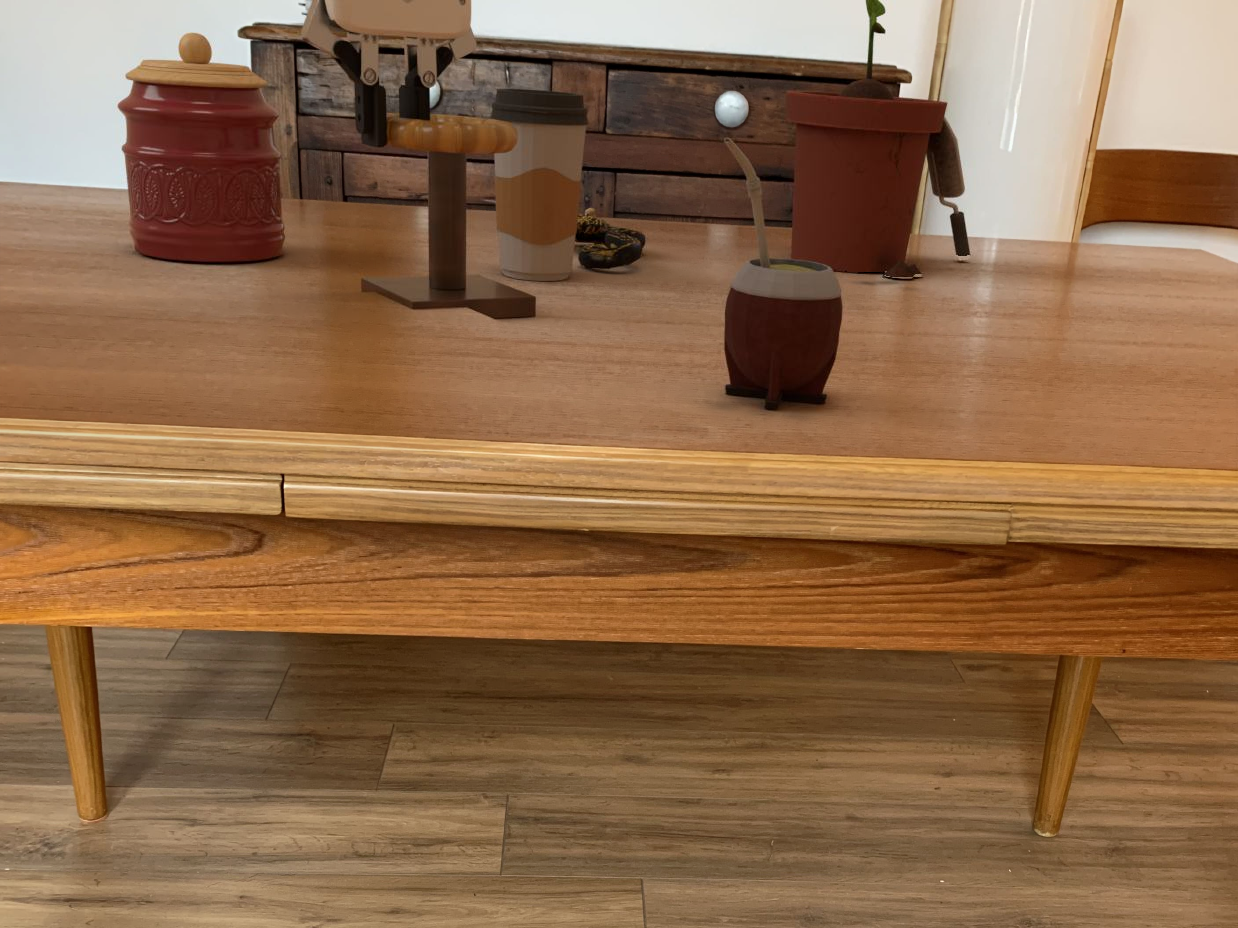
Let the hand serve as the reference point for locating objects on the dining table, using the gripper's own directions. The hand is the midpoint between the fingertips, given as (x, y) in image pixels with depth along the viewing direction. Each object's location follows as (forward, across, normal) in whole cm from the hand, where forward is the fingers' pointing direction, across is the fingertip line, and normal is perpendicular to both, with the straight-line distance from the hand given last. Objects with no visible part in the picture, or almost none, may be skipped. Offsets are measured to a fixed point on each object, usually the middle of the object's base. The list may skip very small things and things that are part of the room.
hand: (393, 143), depth 96 cm
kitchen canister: (+12, -6, +28) cm, 31 cm away
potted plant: (+12, +57, +11) cm, 59 cm away
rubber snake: (+12, +29, +20) cm, 37 cm away
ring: (-1, +4, 0) cm, 4 cm away
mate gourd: (+12, +11, -32) cm, 36 cm away
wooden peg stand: (+12, +4, 0) cm, 12 cm away
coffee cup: (+12, +18, +12) cm, 25 cm away
